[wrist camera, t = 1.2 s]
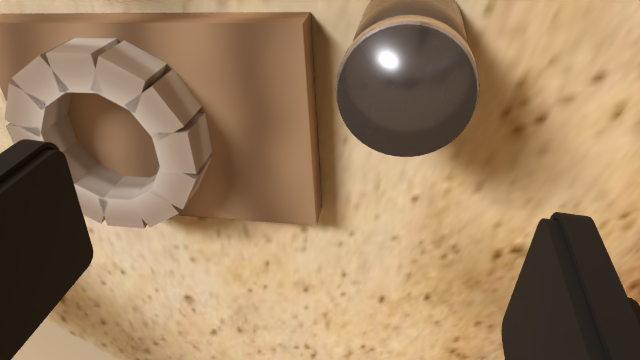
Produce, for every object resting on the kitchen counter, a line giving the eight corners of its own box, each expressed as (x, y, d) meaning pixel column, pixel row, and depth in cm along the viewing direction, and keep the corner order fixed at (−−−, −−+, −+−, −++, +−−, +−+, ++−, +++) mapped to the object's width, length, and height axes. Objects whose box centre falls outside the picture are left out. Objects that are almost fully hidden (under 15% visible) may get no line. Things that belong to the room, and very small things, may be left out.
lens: (471, -25, 22) (490, 24, 16) (459, 83, 25) (471, 162, 19) (358, -23, 23) (331, 24, 17) (358, 81, 26) (336, 156, 20)
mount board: (310, 12, 25) (290, 38, 21) (321, 205, 31) (308, 251, 27) (0, 13, 28) (-64, 37, 24) (69, 189, 34) (27, 228, 31)
